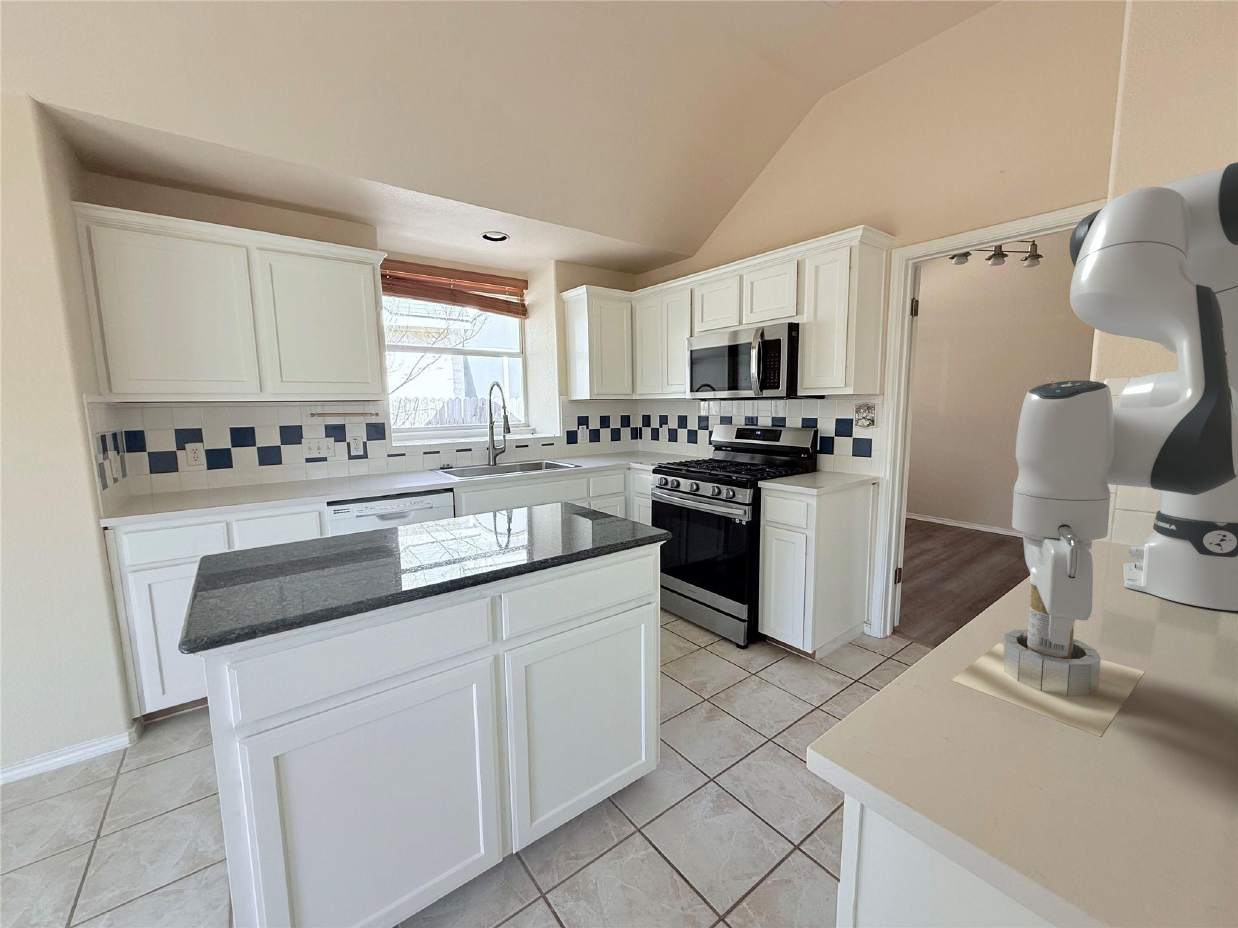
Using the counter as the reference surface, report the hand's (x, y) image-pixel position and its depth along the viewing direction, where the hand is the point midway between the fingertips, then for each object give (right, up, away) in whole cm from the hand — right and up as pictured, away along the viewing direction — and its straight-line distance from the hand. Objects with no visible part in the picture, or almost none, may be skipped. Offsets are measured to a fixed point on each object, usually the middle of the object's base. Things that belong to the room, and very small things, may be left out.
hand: (1051, 625), depth 64 cm
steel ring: (0, -7, +1) cm, 7 cm away
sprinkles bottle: (+1, -7, +1) cm, 7 cm away
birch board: (0, -8, +1) cm, 8 cm away
